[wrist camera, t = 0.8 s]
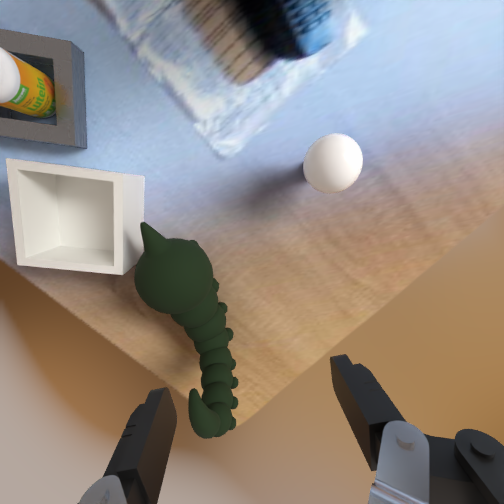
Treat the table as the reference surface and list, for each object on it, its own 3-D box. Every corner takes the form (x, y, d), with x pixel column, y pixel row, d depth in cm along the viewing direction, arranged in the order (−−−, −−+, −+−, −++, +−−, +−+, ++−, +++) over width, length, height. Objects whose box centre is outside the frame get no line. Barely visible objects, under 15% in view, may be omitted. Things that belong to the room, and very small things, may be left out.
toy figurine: (249, 333, 44) (191, 197, 35) (264, 450, 26) (155, 234, 17) (199, 351, 44) (129, 220, 35) (180, 478, 26) (31, 278, 18)
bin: (52, 163, 33) (5, 158, 27) (144, 175, 35) (122, 173, 28) (57, 250, 36) (17, 264, 30) (142, 258, 38) (122, 275, 31)
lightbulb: (328, 194, 37) (365, 198, 26) (286, 188, 36) (307, 190, 26) (337, 148, 35) (381, 132, 25) (293, 141, 35) (319, 122, 24)
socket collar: (-15, 35, 29) (-37, 22, 27) (83, 52, 31) (70, 41, 28) (-3, 136, 32) (-23, 132, 30) (86, 148, 33) (75, 145, 31)
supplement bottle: (57, 126, 32) (-15, 102, 23) (13, 108, 32) (-81, 76, 22) (66, 81, 31) (-7, 37, 22) (19, 62, 30) (-77, 8, 21)
